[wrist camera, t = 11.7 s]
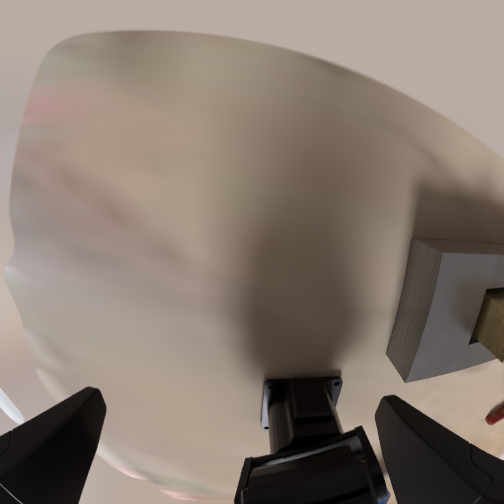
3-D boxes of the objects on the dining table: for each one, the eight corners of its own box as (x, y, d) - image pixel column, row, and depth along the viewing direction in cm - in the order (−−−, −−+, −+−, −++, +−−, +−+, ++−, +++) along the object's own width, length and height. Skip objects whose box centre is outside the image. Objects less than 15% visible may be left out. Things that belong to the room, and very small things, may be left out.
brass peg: (474, 312, 20) (525, 353, 13) (449, 315, 20) (502, 363, 13) (483, 277, 19) (541, 312, 12) (459, 278, 19) (520, 318, 12)
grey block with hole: (498, 333, 21) (518, 350, 17) (386, 354, 21) (405, 382, 17) (522, 245, 19) (548, 256, 15) (411, 237, 18) (442, 252, 15)
